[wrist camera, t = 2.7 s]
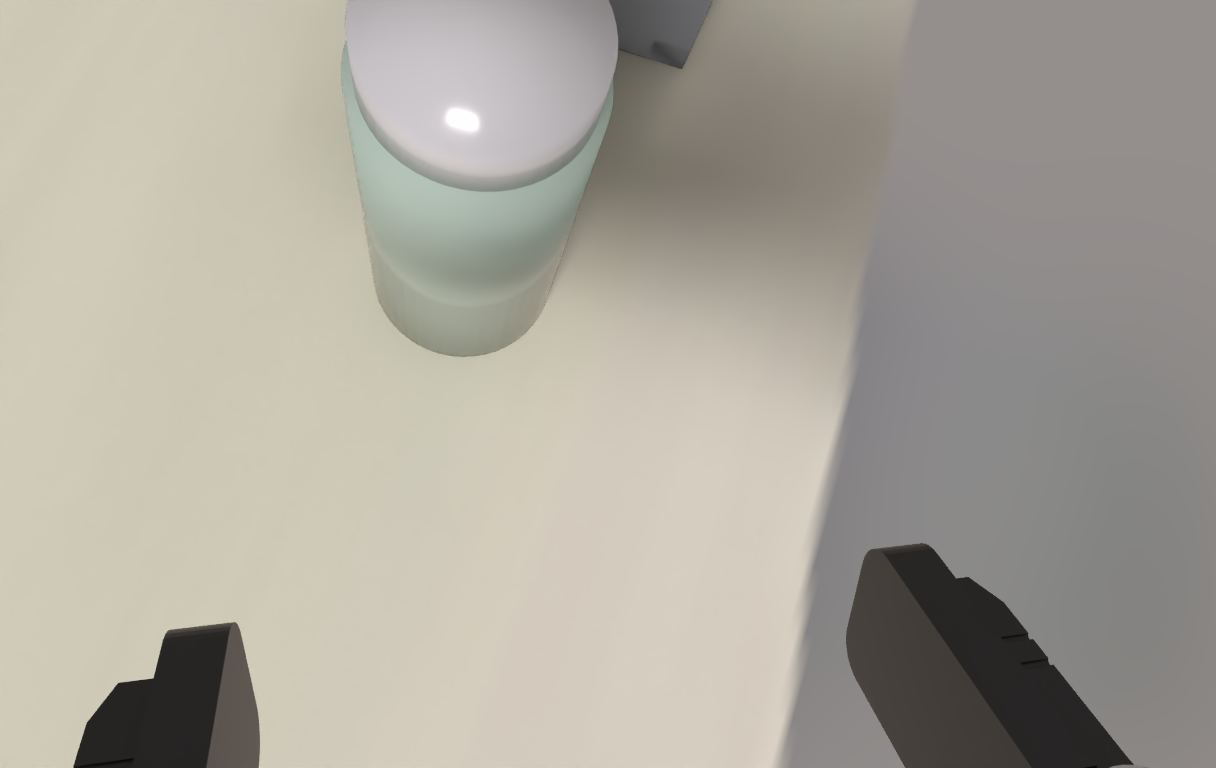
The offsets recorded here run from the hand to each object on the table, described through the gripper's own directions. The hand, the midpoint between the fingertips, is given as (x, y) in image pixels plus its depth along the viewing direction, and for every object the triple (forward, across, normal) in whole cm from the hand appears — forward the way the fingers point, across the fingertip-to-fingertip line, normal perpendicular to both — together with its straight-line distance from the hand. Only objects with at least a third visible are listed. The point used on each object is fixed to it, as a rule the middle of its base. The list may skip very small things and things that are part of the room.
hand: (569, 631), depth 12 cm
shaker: (+18, 0, +3) cm, 18 cm away
